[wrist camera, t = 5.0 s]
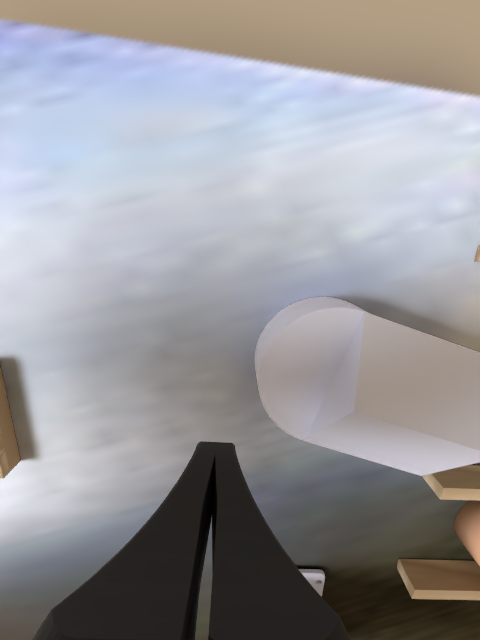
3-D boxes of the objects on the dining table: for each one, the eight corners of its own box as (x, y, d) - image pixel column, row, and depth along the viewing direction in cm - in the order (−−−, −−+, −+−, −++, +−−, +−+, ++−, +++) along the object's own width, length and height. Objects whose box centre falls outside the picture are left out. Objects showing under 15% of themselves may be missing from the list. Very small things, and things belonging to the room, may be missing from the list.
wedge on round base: (453, 338, 21) (281, 278, 20) (550, 383, 15) (305, 297, 13) (395, 442, 23) (237, 394, 22) (457, 521, 17) (238, 459, 15)
